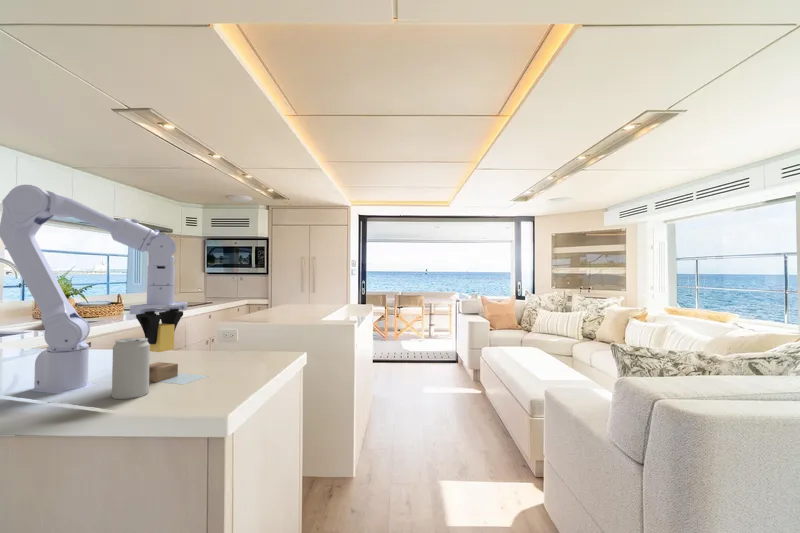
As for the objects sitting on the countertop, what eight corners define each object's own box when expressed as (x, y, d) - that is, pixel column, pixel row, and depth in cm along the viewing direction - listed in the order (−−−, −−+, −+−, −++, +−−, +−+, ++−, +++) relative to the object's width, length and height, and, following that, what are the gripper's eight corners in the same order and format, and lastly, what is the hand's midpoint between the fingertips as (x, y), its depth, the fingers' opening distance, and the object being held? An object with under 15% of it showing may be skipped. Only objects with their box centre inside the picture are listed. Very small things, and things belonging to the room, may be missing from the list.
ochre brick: (146, 350, 97) (147, 325, 97) (160, 348, 101) (161, 323, 101) (159, 352, 96) (160, 326, 96) (173, 349, 100) (174, 324, 100)
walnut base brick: (136, 380, 96) (136, 367, 96) (157, 374, 102) (158, 362, 102) (156, 382, 94) (157, 369, 94) (177, 376, 100) (177, 363, 100)
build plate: (141, 382, 96) (141, 380, 96) (169, 374, 104) (169, 372, 104) (183, 386, 93) (183, 384, 93) (209, 378, 101) (209, 375, 101)
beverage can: (121, 404, 80) (122, 342, 81) (105, 398, 84) (106, 339, 84) (154, 396, 86) (156, 338, 86) (139, 391, 89) (140, 335, 89)
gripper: (147, 286, 90) (146, 348, 90) (197, 284, 104) (196, 338, 104) (123, 285, 92) (121, 346, 92) (175, 284, 106) (173, 337, 106)
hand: (159, 342), depth 98 cm, fingers closed on ochre brick, 4 cm apart
